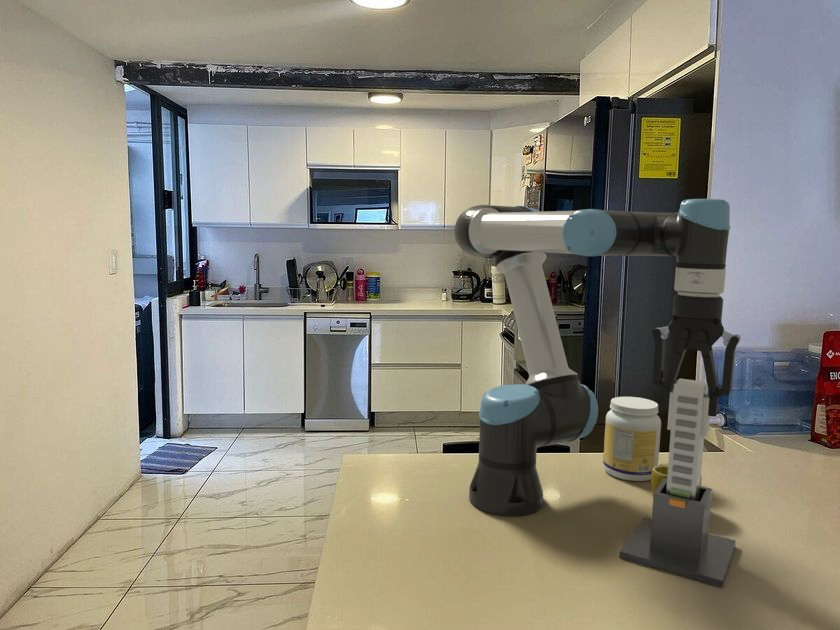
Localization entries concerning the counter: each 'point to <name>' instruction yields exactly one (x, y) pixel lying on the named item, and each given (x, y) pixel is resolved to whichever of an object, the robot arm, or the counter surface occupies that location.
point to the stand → (680, 539)
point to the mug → (659, 475)
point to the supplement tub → (632, 438)
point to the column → (686, 439)
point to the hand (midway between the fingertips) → (687, 430)
